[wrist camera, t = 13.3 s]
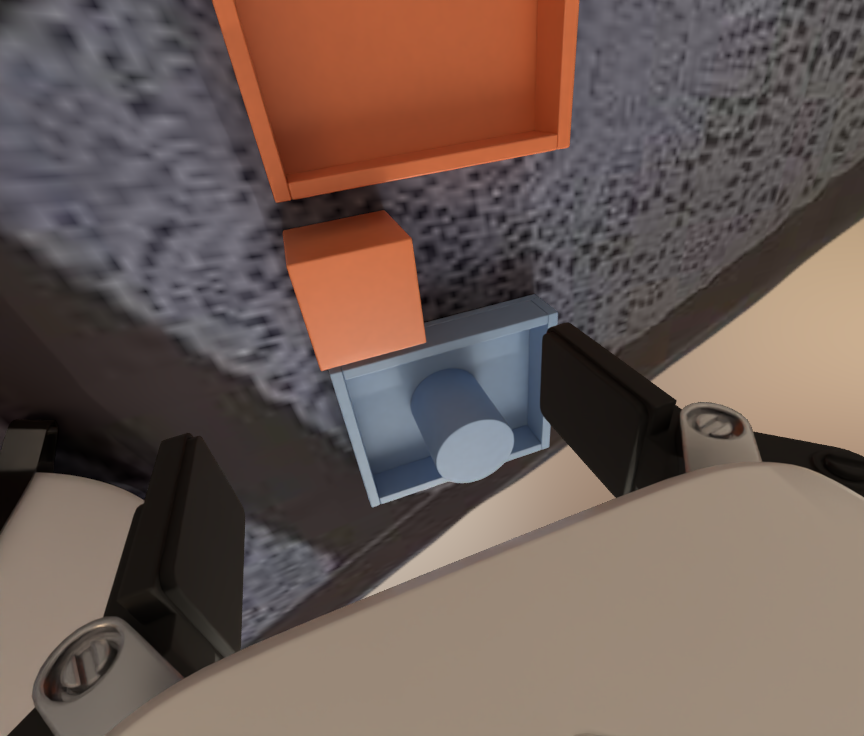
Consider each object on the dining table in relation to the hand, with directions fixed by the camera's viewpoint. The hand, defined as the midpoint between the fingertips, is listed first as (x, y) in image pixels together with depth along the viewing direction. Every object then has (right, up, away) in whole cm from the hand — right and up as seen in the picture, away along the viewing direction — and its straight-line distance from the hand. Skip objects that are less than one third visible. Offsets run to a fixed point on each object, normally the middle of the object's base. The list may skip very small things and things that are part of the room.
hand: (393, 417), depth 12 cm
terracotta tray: (0, +14, +4) cm, 15 cm away
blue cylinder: (+2, -1, +14) cm, 14 cm away
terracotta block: (-3, +6, +9) cm, 11 cm away
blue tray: (+2, 0, +15) cm, 15 cm away
